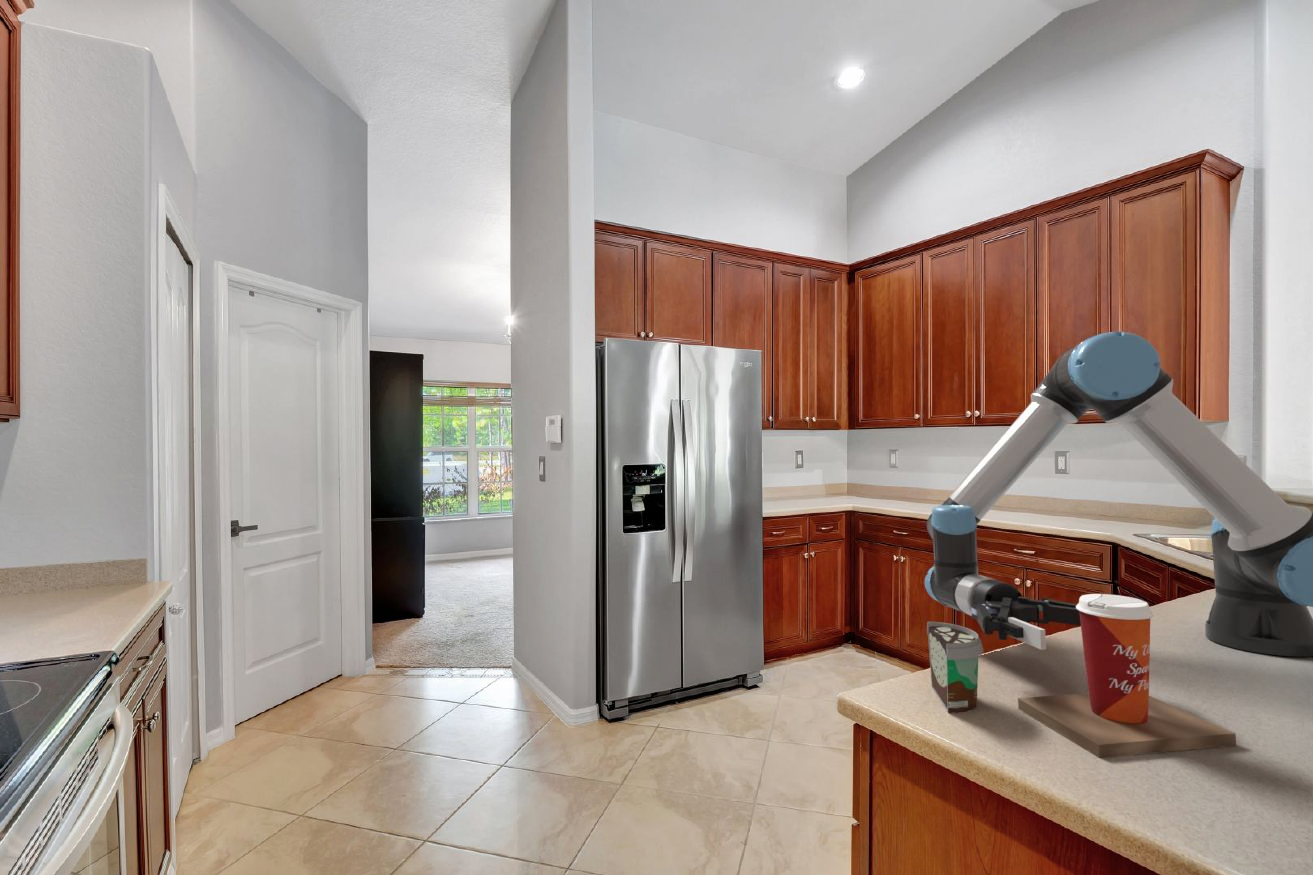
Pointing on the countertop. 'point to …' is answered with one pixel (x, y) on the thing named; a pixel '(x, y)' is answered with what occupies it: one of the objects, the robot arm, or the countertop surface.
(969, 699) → the food container
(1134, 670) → the coffee cup
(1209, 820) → the countertop surface
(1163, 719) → the walnut board
